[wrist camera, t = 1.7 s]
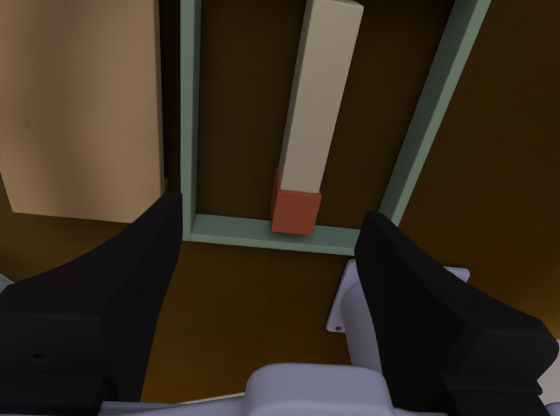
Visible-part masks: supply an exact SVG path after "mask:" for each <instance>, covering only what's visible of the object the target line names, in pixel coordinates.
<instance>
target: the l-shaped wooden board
mask: <svg viewBox="0 0 560 416" xmlns="http://www.w3.org/2000/svg"><path fill="white" fill-rule="evenodd" d="M0 172H1V175H2V179H3V182H4V185H5V188H6V191H7V195H8V198H9V201H10V204H11V207H12V211H13V212H16V213H26V214H37V215H48V216H58V217H69V218H80V219H91V220H101V221H112V222H123V223H132V222H133V221H135V220H136V219H137V218H138V217H139V216H140V215H141V214H143V213H144V212H145V211H146V210H147V209H148V208H149V207H150V206H151V205H152V204H153V203H154V202H155V201H157V200H158V199H159V198H160V197H161V196H162V195H163V194H164V193H165V192H169V181H168V179H164V155H163V122H162V89H161V56H160V23H159V0H0Z"/></svg>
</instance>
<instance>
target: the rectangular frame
mask: <svg viewBox="0 0 560 416" xmlns="http://www.w3.org/2000/svg"><path fill="white" fill-rule="evenodd" d="M490 2H491V0H455V2H454V5H453V8H452V11H451V13H450V16H449V19H448V21H447V24H446V27H445V30H444V32H443V35H442V38H441V41H440V43H439V46H438V49H437V52H436V54H435V57H434V60H433V63H432V65H431V68H430V71H429V74H428V76H427V79H426V82H425V84H424V87H423V90H422V93H421V95H420V98H419V101H418V104H417V106H416V109H415V112H414V115H413V117H412V120H411V123H410V126H409V128H408V131H407V134H406V136H405V139H404V142H403V145H402V147H401V150H400V153H399V156H398V158H397V161H396V164H395V167H394V169H393V172H392V175H391V178H390V180H389V183H388V186H387V189H386V191H385V194H384V197H383V199H382V202H381V205H380V208H379V210H378V212H382V213H383V214H384V215H385V216H386V217H387V218H389V219H390V220H391V221H392V222H393V223H394V224H395V225H396V226H397V227H398V225H399V222H400V220H401V217H402V215H403V213H404V210H405V208H406V205H407V203H408V201H409V198H410V196H411V193H412V191H413V188H414V186H415V184H416V181H417V179H418V176H419V174H420V172H421V169H422V167H423V164H424V162H425V159H426V157H427V155H428V152H429V150H430V147H431V145H432V142H433V140H434V138H435V135H436V133H437V130H438V128H439V126H440V123H441V121H442V118H443V116H444V113H445V111H446V109H447V106H448V104H449V101H450V99H451V96H452V94H453V92H454V89H455V87H456V84H457V82H458V80H459V77H460V75H461V72H462V70H463V67H464V65H465V63H466V60H467V58H468V55H469V53H470V51H471V48H472V46H473V43H474V41H475V38H476V36H477V34H478V31H479V29H480V26H481V24H482V21H483V19H484V17H485V14H486V12H487V9H488V7H489V5H490ZM200 33H201V0H180V80H181V193H183V238H182V240H185V241H190V240H191V241H195V242H206V243H218V244H229V245H240V246H251V247H262V248H273V249H285V250H296V251H307V252H318V253H329V254H340V255H352V256H355V255H354V248H355V245H356V242H357V239H358V236H359V233H360V229H350V228H339V227H329V226H319V225H315V226H314V230H313V234H312V235H303V234H293V233H282V232H272V231H271V221H268V220H258V219H248V218H237V217H227V216H217V215H207V214H196V184H197V147H198V109H199V71H200Z"/></svg>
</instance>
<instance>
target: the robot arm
mask: <svg viewBox="0 0 560 416" xmlns="http://www.w3.org/2000/svg"><path fill="white" fill-rule="evenodd" d="M182 238H183V193H173V192H165V193H164V194H163V195H162V196H161V197H160V198H159V199H158V200H157V201H155V202H154V203H153V204H152V205H151V206H150V207H149V208H148V209H147V210H146V211H145V212H144V213H143V214H141V215H140V216H139V217H138V218H137V219H136V220H135V221H133V222H132V223H131V224H130V225H128V226H127V227H126V228H125V229H123V230H122V231H121V232H119V233H118V234H117V235H115V236H114V237H113V238H111V239H110V240H108V241H106V242H105V243H103V244H102V245H100V246H98V247H97V248H95V249H93V250H91V251H89V252H88V253H86V254H84V255H82V256H80V257H78V258H76V259H74V260H72V261H70V262H68V263H66V264H63V265H61V266H59V267H57V268H54V269H52V270H49V271H47V272H44V273H42V274H39V275H36V276H33V277H30V278H27V279H25V280H22V281H19V282H16V283H13V284H9V285H7V286H6V287H5V289H4V290H3V291H2V292H1V293H0V416H560V403H559V402H557V403H550V404H547V405H545V406H544V404H543V403H542V401H541V399H540V398H539V396H538V395H541V394H542V389H541V387H540V386H539V384H538V382H537V379H538V378H539V377H540V376H541V375H542V374H543V373H544V372H545V371H546V370H547V369H548V368H549V367H550V366H551V365H552V363H553V362H554V361H555V359H556V358H557V355H558V352H559V345H558V342H557V341H556V339H555V338H554V337H553V335H552V334H551V333H550V331H549V330H548V329H547V327H546V326H545V325H544V323H543V322H542V321H541V320H540V319H537V318H535V317H533V316H531V315H528V314H526V313H524V312H521V311H519V310H517V309H515V308H512V307H510V306H508V305H506V304H504V303H502V302H500V301H498V300H496V299H494V298H492V297H490V296H489V295H487V294H485V293H483V292H481V291H480V290H478V289H476V288H475V287H473V286H471V285H470V284H468V283H466V281H467V279H468V278H469V276H470V273H469V271H468V270H467V269H465V268H456V267H444V266H441V265H440V264H439V263H438V262H436V261H435V260H434V259H433V258H431V257H430V256H429V255H428V254H427V253H425V252H424V251H423V250H422V249H421V248H420V247H418V246H417V245H416V244H415V243H414V242H413V241H412V240H411V239H410V238H409V237H407V236H406V235H405V234H404V233H403V232H402V231H401V230H400V229H399V228H398V227H397V226H396V225H395V224H394V223H393V222H392V221H391V220H390V219H389V218H387V217H386V216H385V215H384V214H383V213H382V212H372V211H367V212H366V215H365V218H364V221H363V224H362V227H361V230H360V233H359V236H358V239H357V242H356V245H355V248H354V255H355V259H350V260H349V261H348V262H347V264H346V267H345V270H344V273H343V276H342V279H341V282H340V285H339V288H338V291H337V294H336V296H335V299H334V302H333V305H332V308H331V311H330V314H329V317H328V320H327V323H326V329H327V330H328V331H331V332H345V334H346V339H347V344H348V348H349V353H350V358H351V362H352V365H333V364H312V363H291V362H282V363H273V364H268V365H266V366H264V367H261V368H259V369H257V370H256V371H254V372H253V373H252V375H251V376H250V378H249V379H248V381H247V385H246V392H245V395H244V396H238V397H232V398H224V399H218V400H212V401H205V402H198V403H191V404H173V403H144V402H140V399H141V394H142V389H143V384H144V379H145V374H146V369H147V364H148V360H149V355H150V351H151V346H152V342H153V337H154V333H155V329H156V324H157V320H158V316H159V313H160V309H161V306H162V303H163V300H164V297H165V295H166V292H167V289H168V286H169V283H170V280H171V278H172V275H173V272H174V269H175V266H176V263H177V260H178V257H179V252H180V248H181V243H182Z"/></svg>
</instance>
